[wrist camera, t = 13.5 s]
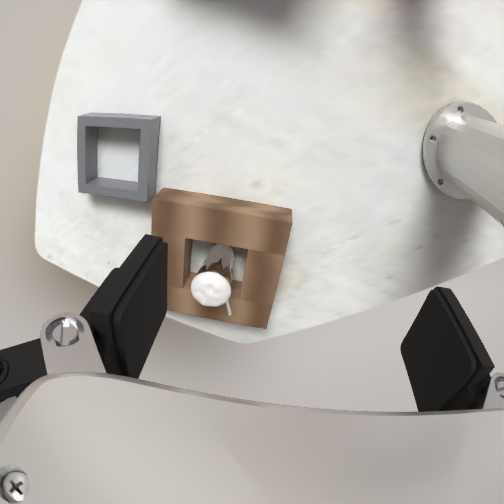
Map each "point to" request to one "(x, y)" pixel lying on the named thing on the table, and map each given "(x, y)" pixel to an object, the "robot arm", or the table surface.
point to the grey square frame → (147, 156)
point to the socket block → (226, 233)
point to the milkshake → (215, 278)
